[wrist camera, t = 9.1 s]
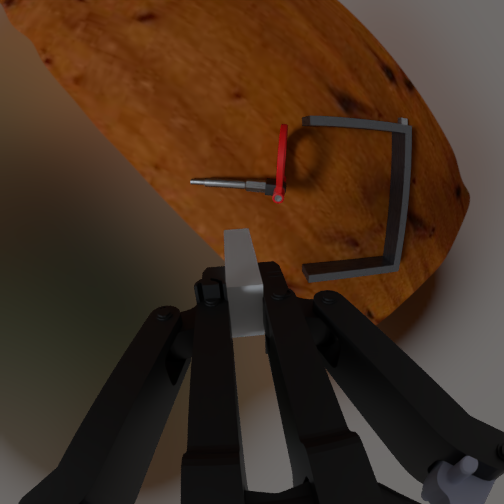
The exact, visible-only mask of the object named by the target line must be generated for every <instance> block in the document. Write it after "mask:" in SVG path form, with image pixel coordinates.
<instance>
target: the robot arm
mask: <svg viewBox="0 0 504 504" xmlns="http://www.w3.org/2000/svg"><path fill="white" fill-rule="evenodd" d="M224 248H225V266H223V267H222V266H221V267H209V268H206V270H205V271H204V272H203V275H202V279H200V280H199V281H197V282H196V283H195V285H194V290H195V295H196V301H197V305H196V306H195V307H194V308H192V309H190V310H187V311H183V312H180V311H179V309H178V308H176V307H174V306H162V307H159V308H157V309H155V310H153V311H152V313H151V314H150V315H149V316H148V318H147V319H146V321H145V322H144V324H143V325H142V327H141V329H140V330H139V332H138V333H137V335H136V336H135V338H134V339H133V341H132V342H131V344H130V345H129V347H128V348H127V350H126V351H125V353H124V355H123V356H122V358H121V359H120V361H119V362H118V364H117V366H116V367H115V369H114V370H113V372H112V373H111V375H110V377H109V378H108V380H107V382H106V383H105V385H104V386H103V388H102V390H101V391H100V393H99V395H98V396H97V398H96V400H95V401H94V403H93V405H92V406H91V408H90V410H89V411H88V413H87V415H86V417H85V418H84V420H83V422H82V423H81V425H80V427H79V429H78V430H77V432H76V434H75V436H74V437H73V439H72V441H71V443H70V445H69V446H68V448H67V450H66V452H65V454H64V456H63V458H62V460H61V461H60V463H59V465H58V467H57V468H56V469H55V470H54V471H52V472H51V473H50V474H49V475H48V476H47V477H46V478H44V479H43V480H42V481H41V482H40V483H39V484H38V485H37V486H35V487H34V488H33V489H32V490H31V491H29V492H28V493H27V494H26V495H25V496H24V497H23V498H22V499H21V500H20V502H19V504H134V503H135V501H136V499H137V496H138V493H139V491H140V488H141V485H142V483H143V480H144V477H145V475H146V472H147V470H148V467H149V465H150V462H151V460H152V457H153V454H154V452H155V449H156V447H157V444H158V442H159V439H160V436H161V434H162V432H163V429H164V426H165V424H166V421H167V419H168V416H169V414H170V411H171V409H172V406H173V404H174V401H175V399H176V396H177V394H178V391H179V389H180V386H181V384H182V381H183V379H184V377H185V374H186V372H187V369H188V367H189V364H190V362H191V357H192V364H191V379H190V395H189V414H188V442H187V452H186V453H185V454H183V457H182V465H181V504H421V503H419V502H416V501H414V500H412V499H410V498H408V497H406V496H404V495H402V494H400V493H398V492H396V491H394V490H392V489H390V488H388V487H387V486H385V485H383V484H381V483H378V482H377V481H376V478H375V475H374V472H373V470H372V467H371V465H370V462H369V459H368V456H367V454H366V451H365V449H364V447H363V443H362V441H361V439H360V437H359V435H358V434H357V433H356V432H352V431H350V430H349V429H348V427H347V424H346V422H345V419H344V416H343V414H342V411H341V409H340V406H339V403H338V400H337V398H336V395H335V393H334V390H333V387H332V385H331V382H330V380H329V377H328V374H327V372H326V370H325V368H326V369H327V371H328V372H329V373H330V375H331V376H332V377H333V379H334V380H335V381H336V382H337V384H338V385H339V386H340V388H341V389H342V390H343V391H344V393H345V394H346V395H347V397H348V398H349V399H350V400H351V402H352V403H353V404H354V406H355V407H356V408H357V409H358V411H359V412H360V413H361V414H362V416H363V417H364V418H365V420H366V421H367V422H368V424H369V425H370V426H371V427H372V429H373V430H374V431H375V432H376V433H377V435H378V436H379V437H380V439H381V440H382V441H383V442H384V444H385V445H386V446H387V448H388V449H389V450H390V451H391V453H392V454H393V455H394V456H395V458H396V459H397V460H398V461H399V463H400V464H401V465H402V466H403V467H404V468H405V470H407V472H408V473H409V474H411V475H412V476H413V477H414V478H415V479H416V480H418V481H419V482H421V483H422V484H423V488H422V489H423V491H422V493H421V497H422V498H423V500H425V501H429V503H430V504H484V503H485V501H486V499H487V497H488V495H489V493H490V491H491V488H492V486H493V484H494V482H495V480H496V479H497V478H498V477H499V476H501V475H502V474H503V473H504V432H502V431H500V430H498V429H496V428H494V427H492V426H490V425H488V424H486V423H484V422H482V421H479V420H477V419H475V418H473V417H471V416H470V415H469V414H468V413H467V412H466V411H465V410H464V409H463V408H462V407H461V406H460V405H459V404H458V403H457V402H456V401H454V399H453V398H451V397H450V395H448V394H447V393H446V392H445V391H444V390H443V389H442V388H441V387H440V386H439V385H438V384H437V383H436V382H435V381H434V380H433V379H432V378H431V377H430V376H429V375H428V374H427V373H426V372H425V371H424V370H422V368H421V367H419V366H418V365H417V364H416V363H415V362H414V361H413V360H412V359H411V358H410V357H409V356H408V355H407V354H406V353H405V352H403V350H401V349H400V348H399V347H398V346H397V345H396V344H395V343H394V342H393V341H392V340H391V339H390V338H388V337H387V336H386V335H385V334H384V333H383V332H382V331H381V330H380V329H379V328H378V327H377V326H375V325H374V324H373V323H372V322H371V321H370V320H369V319H368V318H367V317H366V316H365V315H363V314H362V313H361V312H360V311H359V310H358V309H357V308H356V307H355V306H353V305H352V304H351V303H350V302H349V301H348V300H347V299H346V298H345V297H343V296H342V295H341V294H339V293H338V292H335V291H330V290H325V291H320V292H318V293H316V294H315V295H314V300H313V299H303V298H299V297H296V295H295V293H294V292H293V291H292V290H291V289H289V288H288V286H287V284H286V281H285V279H284V276H283V274H282V272H281V269H280V266H279V265H278V264H277V263H275V262H274V261H271V262H260V263H257V259H256V256H255V252H254V248H253V244H252V240H251V237H250V233H249V229H248V228H247V229H234V230H224ZM264 330H265V347H266V354H268V357H269V362H270V367H271V372H272V377H273V382H274V386H275V391H276V396H277V401H278V406H279V410H280V415H281V420H282V425H283V429H284V434H285V439H286V444H287V449H288V454H289V458H290V463H291V467H292V474H293V488H291V489H288V490H286V491H283V492H280V493H265V492H255V491H248V487H247V480H246V473H245V464H244V455H243V446H242V436H241V426H240V417H239V406H238V396H237V385H236V373H235V362H234V351H233V340H232V338H233V337H243V336H254V335H264Z"/></svg>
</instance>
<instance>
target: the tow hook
mask: <svg viewBox="0 0 504 504" xmlns="http://www.w3.org/2000/svg"><path fill="white" fill-rule="evenodd" d="M287 132H288V125H287V124H281V128H280V136H279V147H278V159H277V175H276V179H269V178H267V180H258V179H247V180H233V179H216V178H205V179H191V181H190V183H191V184H196V185H205V186H206V187H222V188H237V189H245V190H246V191H252V192H264V193H265V195H271V196H273V201H274V202H275V203H282V202H283V200H284V194H285V192H286V177H285V176H284V174H285V162H286V149H287Z"/></svg>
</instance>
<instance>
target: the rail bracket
mask: <svg viewBox="0 0 504 504" xmlns="http://www.w3.org/2000/svg"><path fill="white" fill-rule="evenodd" d="M302 126H325V127H344V128H358V129H369V130H379V131H388V132H392V165H391V185H390V199H389V210H388V220H387V229H386V238H385V245H384V253H383V256H378V257H369V258H359V259H350V260H340V261H330V262H320V263H310V264H302V272H303V274H304V275H305V277H306V279H307V281H308V283H310V282H318V281H327V280H335V279H343V278H351V277H359V276H367V275H374V274H381V273H388V272H395V271H398V270H399V265H400V259H401V253H402V247H403V241H404V234H405V226H406V219H407V210H408V200H409V189H410V174H411V151H412V126H409V125H408V121H407V119H405V118H398V124H397V123H390V122H382V121H374V120H365V119H355V118H343V117H328V116H306V117H302Z"/></svg>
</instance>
